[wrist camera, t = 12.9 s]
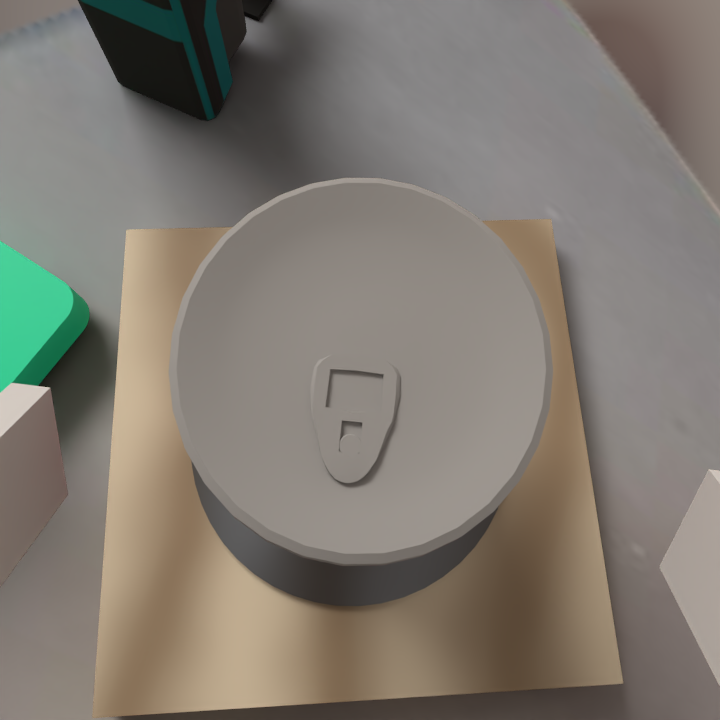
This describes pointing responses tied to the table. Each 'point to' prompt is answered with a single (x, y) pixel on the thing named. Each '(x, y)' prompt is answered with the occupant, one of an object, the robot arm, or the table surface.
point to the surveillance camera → (173, 47)
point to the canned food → (360, 371)
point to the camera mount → (34, 319)
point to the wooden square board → (325, 580)
